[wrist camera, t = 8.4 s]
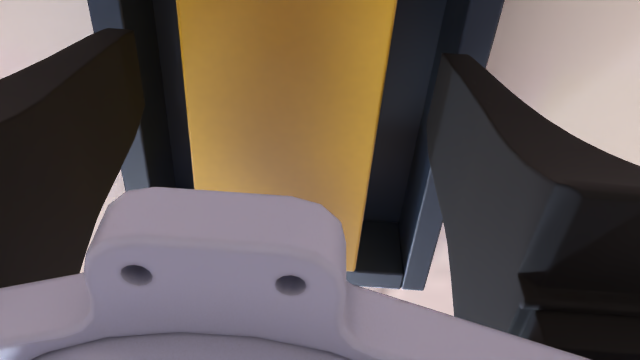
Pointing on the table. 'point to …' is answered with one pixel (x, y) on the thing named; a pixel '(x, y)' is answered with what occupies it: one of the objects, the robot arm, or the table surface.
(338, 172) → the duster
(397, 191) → the case
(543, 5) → the table surface
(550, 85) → the table surface
